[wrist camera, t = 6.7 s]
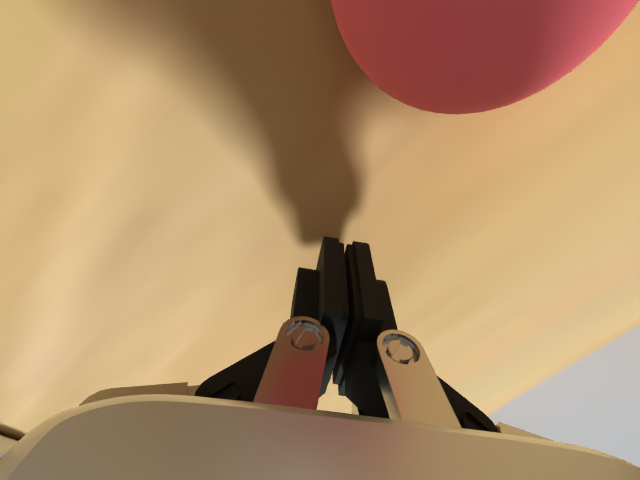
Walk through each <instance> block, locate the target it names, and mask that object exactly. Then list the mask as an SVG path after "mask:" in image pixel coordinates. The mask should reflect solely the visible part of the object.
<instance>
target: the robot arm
mask: <svg viewBox="0 0 640 480" xmlns="http://www.w3.org/2000/svg"><path fill="white" fill-rule="evenodd" d="M332 371H333V384H338V391H339V395H341V396H346V397H347V398H348V399H349V400H350V401H351V402H352V403H353V404H352V414H347V413H339V412H331V411H322V410H317V404H318V399H319V397H321V396H322V395H323V394H324V393H325V392H326V388H327V385H328V383H329V381H330V378H331V374H332ZM0 480H640V468H639V467H637V466H635V465H633V464H631V463H628V462H626V461H624V460H622V459H619V458H616V457H613V456H611V455H607V454H605V453H602V452H599V451H595V450H591V449H588V448H584V447H580V446H576V445H571V444H566V443H561V442H555V441H552V440H550V439H547V438H544V437H541V436H538V435H535V434H532V433H530V432H526V431H524V430H521V429H518V428H515V427H512V426H509V425H506V424H503V423H501V422H498V424H497V425H494V423H493V422H492V421H491V420H490V419H489V418H488V417H487V416H486V415H485V414H484V413H483V412H482V411H480V410H479V409H478V408H477V407H475V406H474V405H473V404H472V403H470V402H469V401H468V400H467V399H465V398H464V397H463V396H462V395H460V394H459V393H458V392H457V391H455V390H454V389H453V388H452V387H450V386H449V385H448V384H447V383H445V382H444V381H443V380H442V379H440V378H439V377H438V376H437V375H436V373H435V371H434V369H433V367H432V365H431V363H430V361H429V359H428V357H427V355H426V353H425V350H424V348H423V347H422V345H421V344H420V343H419V342H418V341H417V340H416V339H415V338H414V337H413V336H411V335H409V334H408V333H405V332H403V331H399V330H397V325H396V321H395V317H394V313H393V309H392V305H391V300H390V296H389V292H388V288H387V284H386V282H385V281H382V280H376V277H375V272H374V267H373V262H372V257H371V252H370V247H369V244H367V243H361V242H355V241H354V242H353V243H352V245H350V244H347V246H346V250H345V254H344V244H343V243H339V239H337V238H331V237H325V236H324V237H323V241H322V245H321V250H320V254H319V259H318V264H317V268H316V270H312V269H306V268H300V267H299V268H298V272H297V277H296V283H295V288H294V295H293V301H292V308H291V316H290V319H288V320H287V321H286V322H284V323H283V325H282V326H281V328H280V331H279V333H278V336H277V339H276V341H274V342H272V343H270V344H268V345H267V346H265V347H263V348H261V349H260V350H258V351H256V352H254V353H252V354H251V355H249V356H247V357H245V358H244V359H242V360H240V361H238V362H236V363H235V364H233V365H231V366H229V367H227V368H226V369H224V370H222V371H220V372H219V373H217V374H215V375H213V376H211V377H210V378H208V379H207V380H206V381H204V382H203V383H202V384H201V385H197V386H188V382H184V383H171V384H159V385H146V386H133V387H121V388H110V389H106V390H101V391H99V392H97V393H95V394H93V395H91V396H89V397H88V398H87V399H85V400H84V401H83V402H82V403H81V404H80V405H79V406H78V407H75V408H72V409H69V410H67V411H64V412H61V413H59V414H57V415H55V416H53V417H51V418H49V419H47V420H46V421H44V422H42V423H41V424H39V425H38V426H36V427H35V428H34V429H32V430H31V431H30V432H28V433H27V434H26V435H25V436H24V437H23V438H22V439H20V440H19V441H18V440H15V439H12V438H9V437H6V436H3V435H0Z"/></svg>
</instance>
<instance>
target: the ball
mask: <svg viewBox="0 0 640 480" xmlns="http://www.w3.org/2000/svg"><path fill="white" fill-rule="evenodd" d="M330 1H331V6H332V9H333V12H334V16H335V19H336V23H337V26H338V29H339V32H340V34H341V36H342V39H343V41H344V43H345V45H346V47H347V49H348V50H349V52H350V54H351V56H352V57H353V59H354V60H355V62H356V63H357V64H358V66H359V67H360V68H361V70H362V71H363V72H364V73H365V74H366V75H367V76H368V77H369V79H370V80H371V81H372V82H373V83H375V84H376V85H377V86H378V87H379V88H380V89H382V90H383V91H384V92H386V93H387V94H389V95H390V96H392V97H393V98H395V99H397V100H399V101H401V102H403V103H405V104H407V105H409V106H412V107H415V108H418V109H421V110H425V111H430V112H435V113H443V114H467V113H477V112H484V111H488V110H492V109H497V108H500V107H503V106H507V105H510V104H513V103H515V102H517V101H520V100H522V99H525V98H527V97H529V96H531V95H533V94H535V93H537V92H539V91H541V90H543V89H544V88H546V87H548V86H549V85H551V84H553V83H554V82H556V81H557V80H559V79H560V78H562V77H563V76H565V75H566V74H568V73H570V72H571V71H572V70H573V69H574V68H576V67H577V66H578V65H579V64H580V63H582V62H583V61H584V60H585V59H586V58H588V57H589V56H590V55H591V54H592V53H593V52H594V51H596V50H597V49H598V48H599V47H600V46H601V45H602V44H603V43H604V42H605V41H606V40H607V39H608V38H609V37H610V36H611V34H612V33H613V32H614V31H615V30H616V29H617V28H618V27H619V26H620V24H621V23H622V22H623V21H624V20H625V18H626V17H627V16H628V15H629V13H630V12H631V11H632V9H633V8H634V7H635V5H636V4H637V3H638V1H639V0H330Z"/></svg>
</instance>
